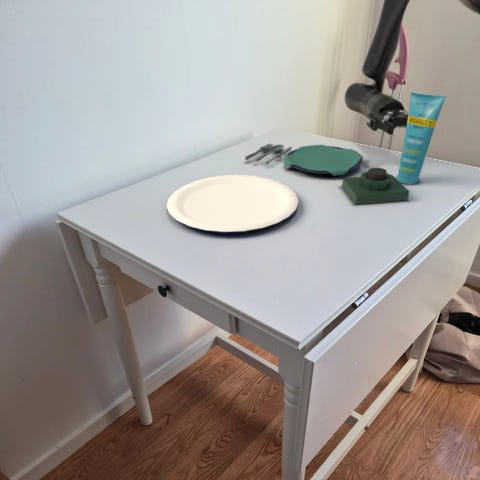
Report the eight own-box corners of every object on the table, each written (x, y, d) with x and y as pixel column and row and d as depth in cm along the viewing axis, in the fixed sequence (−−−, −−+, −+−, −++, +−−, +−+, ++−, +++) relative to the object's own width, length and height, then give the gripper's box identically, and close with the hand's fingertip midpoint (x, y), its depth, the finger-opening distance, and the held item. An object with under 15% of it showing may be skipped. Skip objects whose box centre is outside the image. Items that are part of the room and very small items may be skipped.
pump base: (389, 183, 102) (393, 166, 100) (407, 200, 95) (411, 183, 92) (341, 186, 101) (343, 170, 99) (355, 204, 94) (358, 187, 91)
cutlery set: (344, 185, 102) (346, 176, 100) (239, 164, 114) (239, 155, 113) (371, 159, 115) (373, 151, 113) (273, 143, 127) (274, 135, 126)
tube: (389, 180, 103) (407, 94, 91) (395, 174, 106) (413, 89, 94) (420, 187, 100) (443, 97, 88) (425, 180, 103) (449, 92, 91)
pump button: (381, 174, 97) (382, 166, 96) (388, 181, 94) (389, 173, 93) (364, 175, 97) (365, 168, 96) (370, 182, 94) (372, 174, 93)
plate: (220, 172, 110) (220, 166, 109) (321, 197, 97) (322, 190, 96) (139, 215, 93) (138, 207, 91) (249, 253, 79) (249, 245, 78)
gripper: (360, 97, 110) (383, 114, 97) (412, 94, 111) (442, 110, 98) (355, 128, 115) (377, 147, 102) (406, 124, 116) (434, 143, 103)
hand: (409, 129), depth 100 cm, fingers open, 8 cm apart
